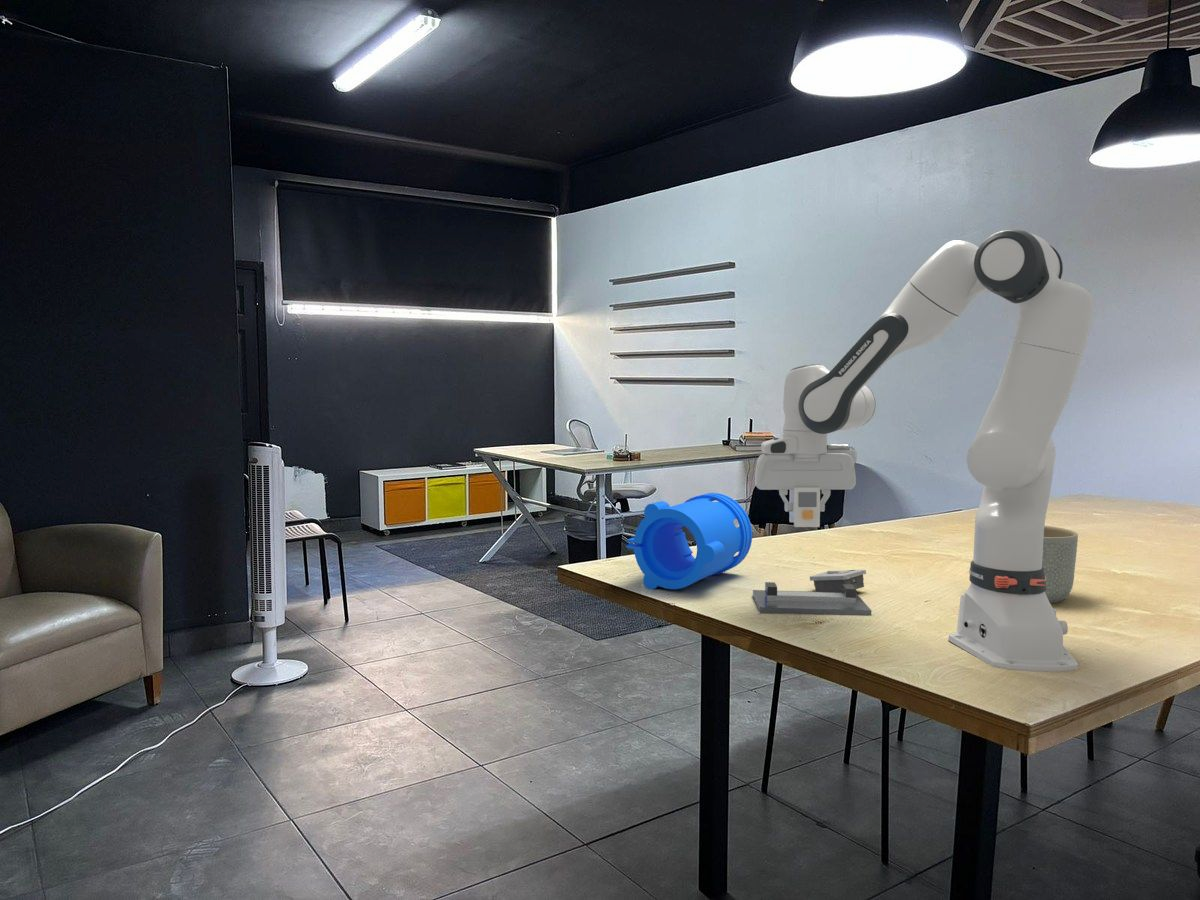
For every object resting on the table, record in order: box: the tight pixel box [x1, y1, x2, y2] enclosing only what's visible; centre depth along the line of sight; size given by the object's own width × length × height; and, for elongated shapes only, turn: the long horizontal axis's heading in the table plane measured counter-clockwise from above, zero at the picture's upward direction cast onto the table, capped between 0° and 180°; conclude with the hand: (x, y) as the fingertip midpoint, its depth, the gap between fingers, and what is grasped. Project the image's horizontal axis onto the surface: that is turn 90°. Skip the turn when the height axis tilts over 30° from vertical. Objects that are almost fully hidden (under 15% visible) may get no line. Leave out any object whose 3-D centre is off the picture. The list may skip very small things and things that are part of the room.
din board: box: [752, 581, 872, 616], centre depth 179 cm, size 14×22×4 cm, turn 86°
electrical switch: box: [809, 569, 867, 592], centre depth 190 cm, size 9×5×9 cm
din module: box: [788, 487, 821, 528], centre depth 176 cm, size 8×5×8 cm, turn 176°
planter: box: [1042, 525, 1079, 605], centre depth 186 cm, size 17×17×15 cm
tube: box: [625, 492, 753, 590], centre depth 200 cm, size 25×22×19 cm
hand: (804, 511), depth 177 cm, fingers closed on din module, 5 cm apart
